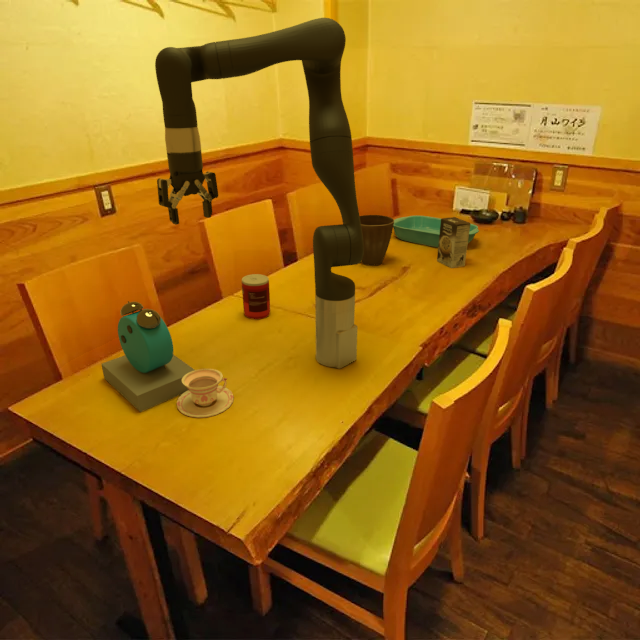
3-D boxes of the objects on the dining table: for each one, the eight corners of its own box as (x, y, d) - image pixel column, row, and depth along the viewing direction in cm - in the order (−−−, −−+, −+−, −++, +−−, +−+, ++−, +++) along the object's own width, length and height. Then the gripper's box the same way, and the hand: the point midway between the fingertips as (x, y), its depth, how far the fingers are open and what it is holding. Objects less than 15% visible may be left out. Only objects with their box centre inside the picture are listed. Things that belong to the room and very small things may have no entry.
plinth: (198, 386, 116) (197, 371, 114) (140, 412, 108) (137, 395, 106) (160, 357, 128) (157, 343, 126) (104, 378, 119) (101, 363, 118)
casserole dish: (381, 238, 219) (382, 222, 216) (408, 227, 235) (409, 212, 232) (462, 256, 198) (464, 238, 195) (486, 242, 214) (488, 225, 211)
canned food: (257, 306, 156) (254, 272, 151) (276, 313, 151) (274, 278, 147) (238, 314, 151) (235, 279, 146) (257, 322, 146) (255, 285, 141)
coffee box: (436, 261, 193) (440, 218, 186) (450, 258, 195) (454, 216, 188) (451, 268, 185) (456, 224, 178) (465, 266, 188) (471, 222, 181)
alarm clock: (177, 372, 114) (169, 310, 108) (153, 383, 110) (142, 319, 104) (146, 352, 122) (136, 294, 116) (121, 362, 118) (110, 302, 112)
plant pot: (369, 272, 182) (371, 227, 175) (343, 261, 193) (343, 218, 186) (400, 263, 190) (403, 220, 183) (373, 253, 201) (374, 212, 194)
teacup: (176, 422, 105) (172, 396, 102) (177, 390, 115) (174, 366, 113) (235, 414, 107) (233, 389, 104) (231, 383, 118) (229, 360, 115)
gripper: (202, 144, 122) (209, 212, 129) (146, 150, 113) (156, 223, 120) (220, 147, 117) (226, 218, 124) (162, 153, 108) (172, 229, 115)
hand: (191, 220), depth 122 cm, fingers open, 8 cm apart
